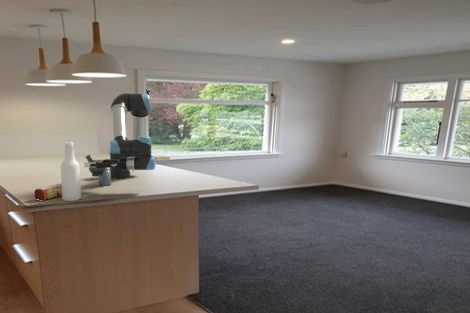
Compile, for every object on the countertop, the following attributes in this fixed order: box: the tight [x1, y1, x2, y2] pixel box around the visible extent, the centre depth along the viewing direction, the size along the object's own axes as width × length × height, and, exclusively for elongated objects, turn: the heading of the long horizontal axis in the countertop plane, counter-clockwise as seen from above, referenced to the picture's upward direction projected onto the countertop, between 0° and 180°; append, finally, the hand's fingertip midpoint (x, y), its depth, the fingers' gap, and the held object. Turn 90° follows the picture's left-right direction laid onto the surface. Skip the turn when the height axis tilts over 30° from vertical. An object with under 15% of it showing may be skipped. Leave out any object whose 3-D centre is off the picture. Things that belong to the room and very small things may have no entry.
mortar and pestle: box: [84, 154, 106, 178], centre depth 192 cm, size 11×9×12 cm
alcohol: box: [60, 141, 82, 202], centre depth 173 cm, size 9×9×30 cm
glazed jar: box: [98, 168, 112, 187], centre depth 209 cm, size 7×7×11 cm
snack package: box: [34, 183, 62, 201], centre depth 181 cm, size 21×7×7 cm, turn 162°
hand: (88, 163), depth 191 cm, fingers closed on mortar and pestle, 9 cm apart
